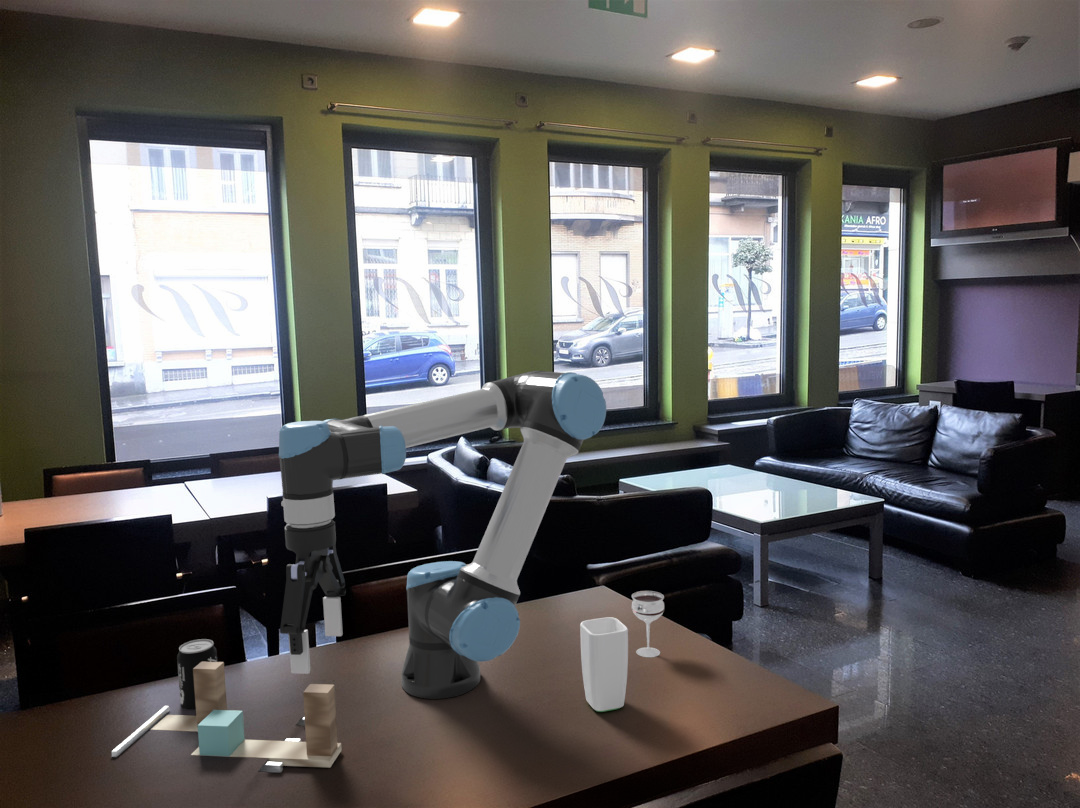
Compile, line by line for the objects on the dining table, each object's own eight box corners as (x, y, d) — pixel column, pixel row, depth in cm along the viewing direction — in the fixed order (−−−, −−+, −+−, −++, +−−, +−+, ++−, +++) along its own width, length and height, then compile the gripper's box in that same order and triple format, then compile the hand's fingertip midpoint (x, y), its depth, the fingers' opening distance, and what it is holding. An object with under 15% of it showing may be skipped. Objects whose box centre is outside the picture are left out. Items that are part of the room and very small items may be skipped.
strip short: (232, 723, 137) (228, 659, 136) (217, 738, 132) (213, 672, 131) (167, 721, 139) (162, 657, 137) (150, 736, 134) (145, 670, 132)
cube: (244, 739, 130) (242, 710, 129) (229, 756, 125) (227, 726, 124) (215, 738, 130) (213, 709, 130) (199, 755, 125) (197, 725, 125)
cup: (631, 711, 139) (631, 630, 138) (593, 718, 137) (592, 636, 135) (615, 692, 146) (614, 615, 144) (578, 699, 144) (577, 621, 142)
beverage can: (205, 718, 140) (201, 654, 138) (173, 715, 141) (168, 651, 140) (227, 701, 146) (223, 639, 145) (196, 698, 147) (191, 637, 146)
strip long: (341, 750, 128) (338, 681, 127) (330, 767, 123) (326, 696, 122) (207, 744, 130) (202, 677, 129) (191, 761, 125) (186, 692, 124)
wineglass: (641, 642, 168) (641, 588, 167) (670, 650, 164) (670, 594, 163) (625, 654, 163) (625, 598, 161) (655, 662, 159) (654, 604, 157)
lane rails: (317, 723, 137) (316, 710, 137) (280, 772, 122) (279, 757, 122) (166, 718, 140) (165, 705, 140) (112, 765, 125) (111, 751, 125)
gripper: (317, 502, 134) (325, 621, 137) (248, 545, 110) (259, 690, 112) (360, 502, 133) (367, 622, 136) (300, 545, 109) (310, 691, 111)
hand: (318, 653), depth 124 cm, fingers open, 13 cm apart
